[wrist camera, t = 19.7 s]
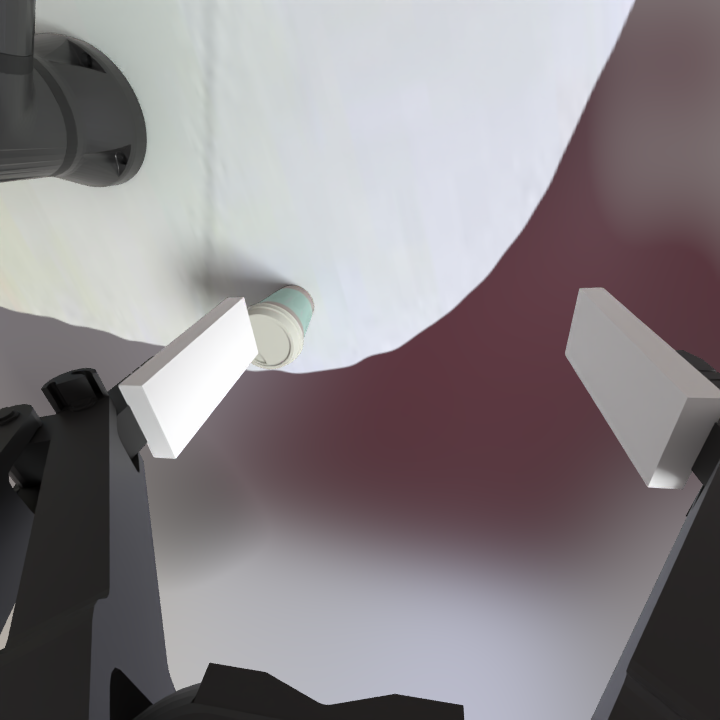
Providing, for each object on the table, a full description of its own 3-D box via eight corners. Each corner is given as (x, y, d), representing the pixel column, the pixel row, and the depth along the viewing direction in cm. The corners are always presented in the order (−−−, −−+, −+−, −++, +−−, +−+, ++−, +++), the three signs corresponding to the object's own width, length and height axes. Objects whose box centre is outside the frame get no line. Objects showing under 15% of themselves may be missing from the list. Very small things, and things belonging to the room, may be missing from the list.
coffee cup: (263, 274, 52) (223, 307, 42) (322, 277, 51) (295, 312, 41) (270, 328, 57) (236, 369, 47) (324, 332, 56) (301, 376, 46)
